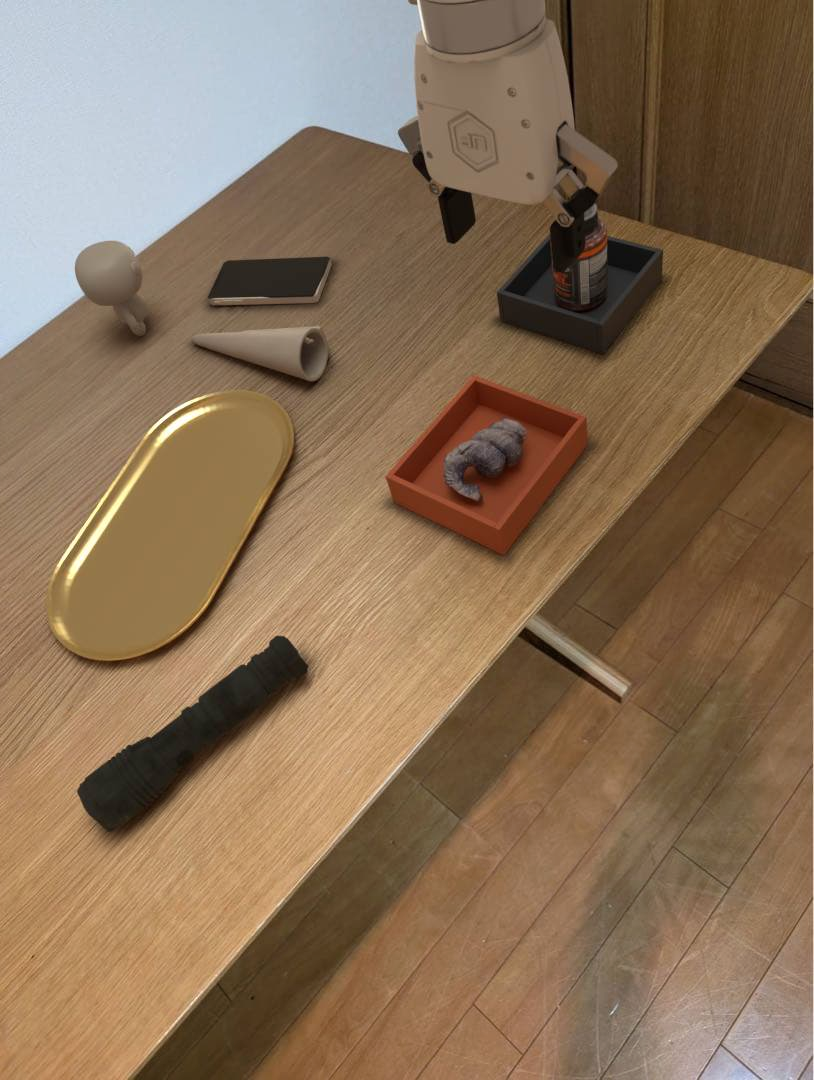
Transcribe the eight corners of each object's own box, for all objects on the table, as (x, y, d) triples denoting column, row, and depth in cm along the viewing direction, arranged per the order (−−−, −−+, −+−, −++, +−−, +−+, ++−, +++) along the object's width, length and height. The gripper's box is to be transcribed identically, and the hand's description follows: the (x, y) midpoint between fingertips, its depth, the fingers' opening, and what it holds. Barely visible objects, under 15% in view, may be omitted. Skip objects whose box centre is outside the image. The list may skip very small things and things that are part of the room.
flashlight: (96, 797, 73) (66, 777, 69) (289, 646, 78) (271, 619, 74) (121, 841, 70) (91, 823, 66) (319, 681, 75) (302, 655, 71)
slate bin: (662, 280, 96) (663, 249, 93) (602, 354, 91) (602, 325, 88) (560, 252, 102) (558, 223, 99) (500, 320, 98) (496, 292, 94)
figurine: (174, 335, 108) (131, 256, 99) (119, 358, 108) (70, 281, 98) (162, 301, 113) (120, 222, 103) (109, 323, 113) (62, 246, 103)
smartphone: (315, 297, 105) (205, 299, 109) (318, 304, 106) (209, 307, 110) (330, 255, 110) (224, 259, 113) (333, 263, 111) (228, 267, 114)
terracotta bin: (587, 445, 84) (586, 416, 81) (503, 555, 79) (499, 530, 76) (478, 402, 91) (473, 374, 88) (393, 502, 85) (384, 476, 82)
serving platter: (18, 641, 84) (9, 633, 83) (187, 390, 101) (181, 380, 100) (172, 688, 78) (164, 680, 76) (325, 410, 95) (321, 401, 94)
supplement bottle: (543, 296, 98) (536, 209, 89) (585, 272, 99) (582, 184, 90) (575, 322, 94) (571, 234, 85) (618, 296, 95) (619, 207, 86)
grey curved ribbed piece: (462, 513, 83) (524, 449, 87) (483, 501, 78) (548, 433, 82) (425, 473, 83) (489, 411, 87) (444, 458, 78) (511, 392, 82)
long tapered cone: (158, 346, 101) (292, 350, 92) (186, 315, 104) (318, 316, 96) (178, 385, 105) (309, 392, 96) (205, 354, 108) (334, 358, 100)
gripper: (337, 25, 54) (396, 251, 68) (575, 54, 46) (588, 306, 59) (406, -31, 57) (450, 197, 71) (643, -13, 49) (641, 242, 62)
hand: (513, 246), depth 65 cm, fingers open, 9 cm apart
